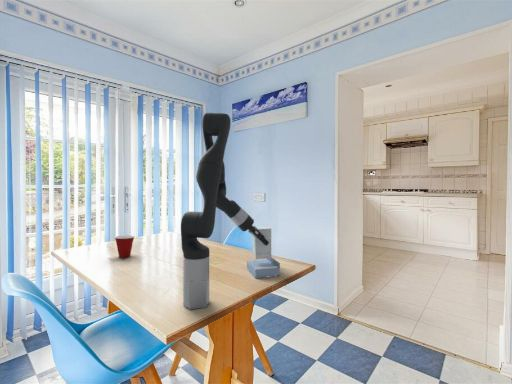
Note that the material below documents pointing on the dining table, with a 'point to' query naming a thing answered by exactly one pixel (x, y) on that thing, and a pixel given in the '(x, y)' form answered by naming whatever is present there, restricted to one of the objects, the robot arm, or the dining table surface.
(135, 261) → the dining table surface
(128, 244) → the plastic cup
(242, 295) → the dining table surface
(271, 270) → the tray
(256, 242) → the skincare box
